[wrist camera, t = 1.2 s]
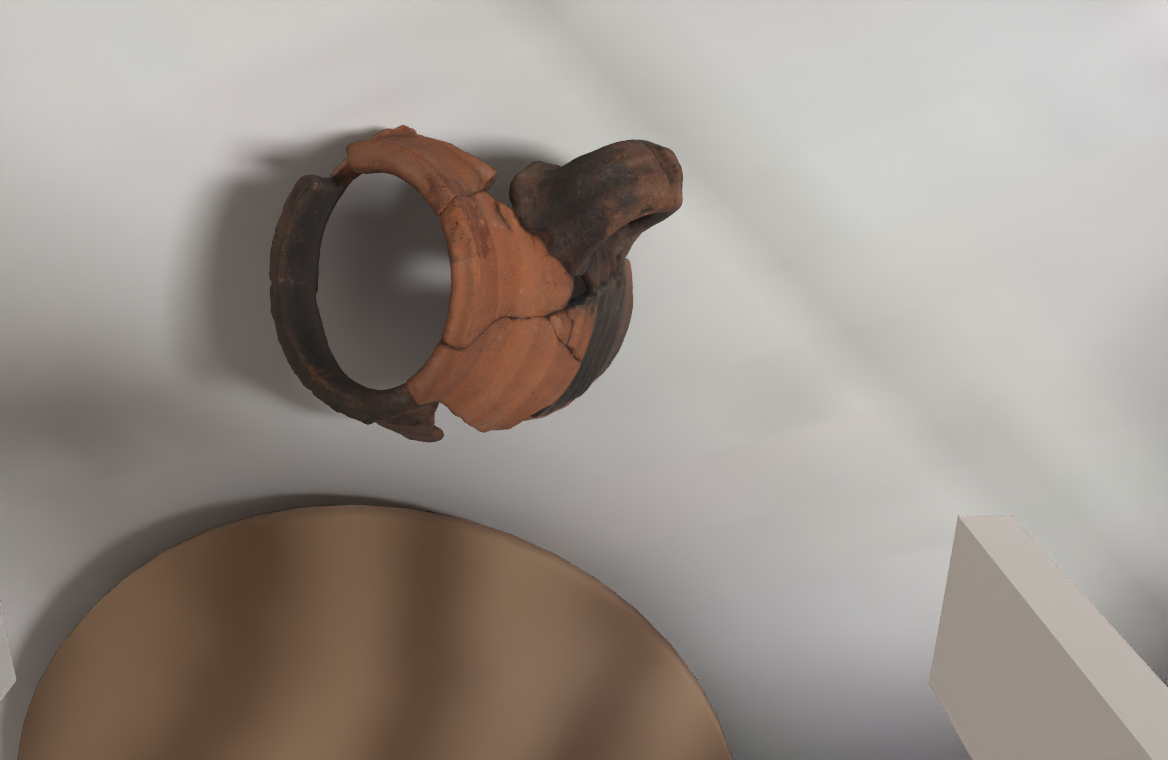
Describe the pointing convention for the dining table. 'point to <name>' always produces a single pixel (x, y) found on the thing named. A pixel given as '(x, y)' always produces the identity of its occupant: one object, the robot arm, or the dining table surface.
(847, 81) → the dining table surface
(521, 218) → the pottery mug
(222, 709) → the disc
